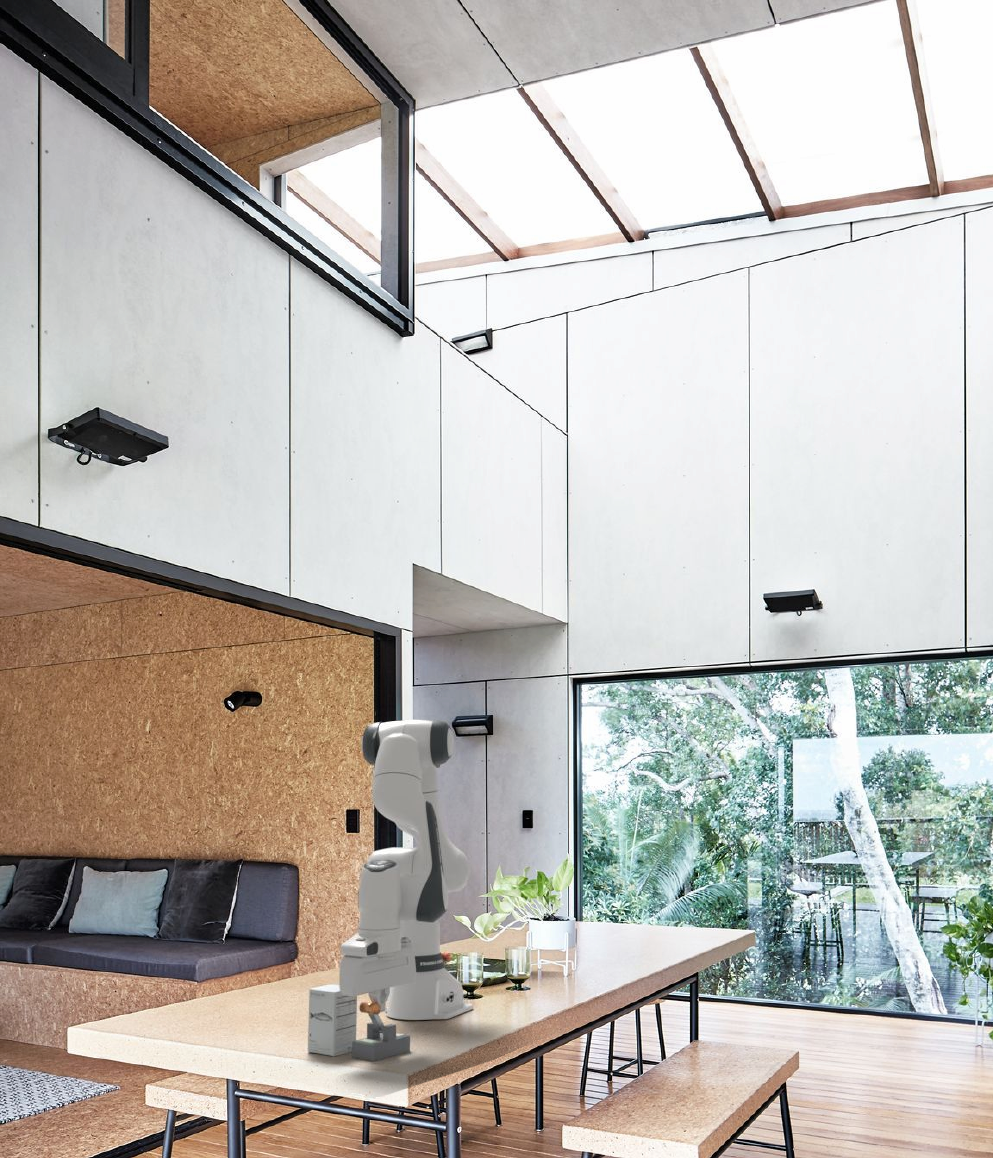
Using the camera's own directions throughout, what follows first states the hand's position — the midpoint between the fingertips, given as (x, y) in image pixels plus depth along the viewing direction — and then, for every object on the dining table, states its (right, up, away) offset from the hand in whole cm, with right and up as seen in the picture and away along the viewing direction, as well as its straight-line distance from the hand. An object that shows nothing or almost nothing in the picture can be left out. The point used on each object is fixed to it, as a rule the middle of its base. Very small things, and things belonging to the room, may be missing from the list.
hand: (378, 1011), depth 234 cm
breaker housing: (0, -8, 0) cm, 8 cm away
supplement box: (-10, -9, +2) cm, 14 cm away
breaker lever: (0, -4, 0) cm, 4 cm away
